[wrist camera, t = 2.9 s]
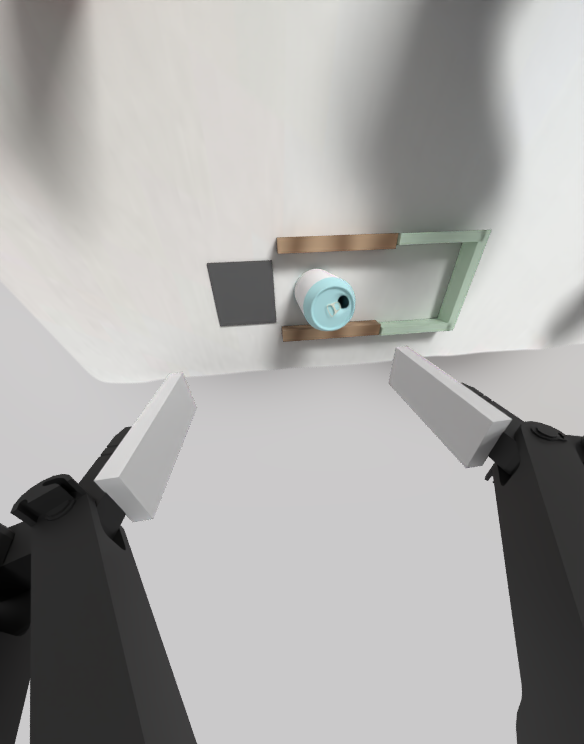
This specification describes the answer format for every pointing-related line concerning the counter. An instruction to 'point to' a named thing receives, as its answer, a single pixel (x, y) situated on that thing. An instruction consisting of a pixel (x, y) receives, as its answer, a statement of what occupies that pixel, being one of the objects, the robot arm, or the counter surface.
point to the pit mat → (243, 292)
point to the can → (325, 299)
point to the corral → (457, 286)
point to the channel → (326, 246)
